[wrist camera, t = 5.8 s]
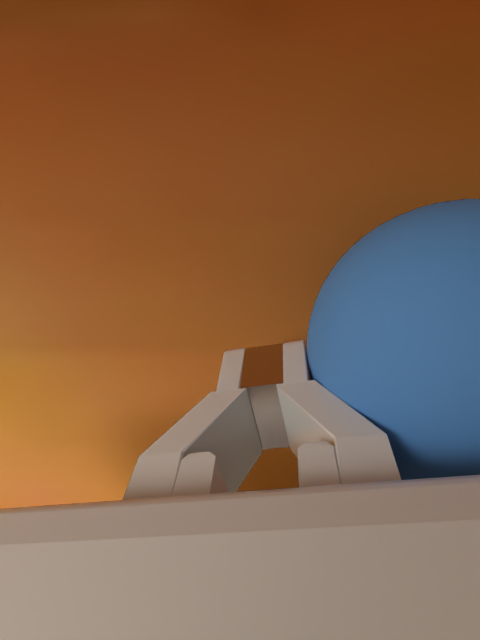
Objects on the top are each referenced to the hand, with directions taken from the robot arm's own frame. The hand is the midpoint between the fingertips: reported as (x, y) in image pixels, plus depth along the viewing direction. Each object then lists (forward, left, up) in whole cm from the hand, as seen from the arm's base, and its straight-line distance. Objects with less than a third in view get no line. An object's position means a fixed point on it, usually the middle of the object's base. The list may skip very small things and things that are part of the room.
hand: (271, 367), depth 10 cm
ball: (0, +4, +1) cm, 4 cm away
